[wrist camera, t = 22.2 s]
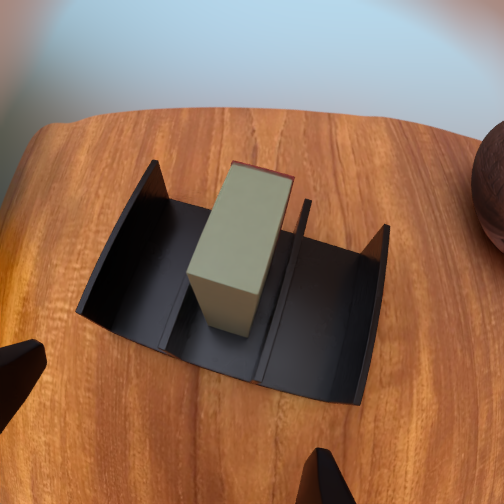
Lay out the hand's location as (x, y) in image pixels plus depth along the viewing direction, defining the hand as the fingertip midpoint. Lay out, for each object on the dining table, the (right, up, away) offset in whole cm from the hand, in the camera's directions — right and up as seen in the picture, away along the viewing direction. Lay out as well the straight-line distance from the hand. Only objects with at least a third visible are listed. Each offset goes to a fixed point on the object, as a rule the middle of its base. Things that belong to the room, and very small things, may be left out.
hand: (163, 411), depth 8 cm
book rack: (+2, +1, +16) cm, 16 cm away
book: (+2, +2, +15) cm, 15 cm away
